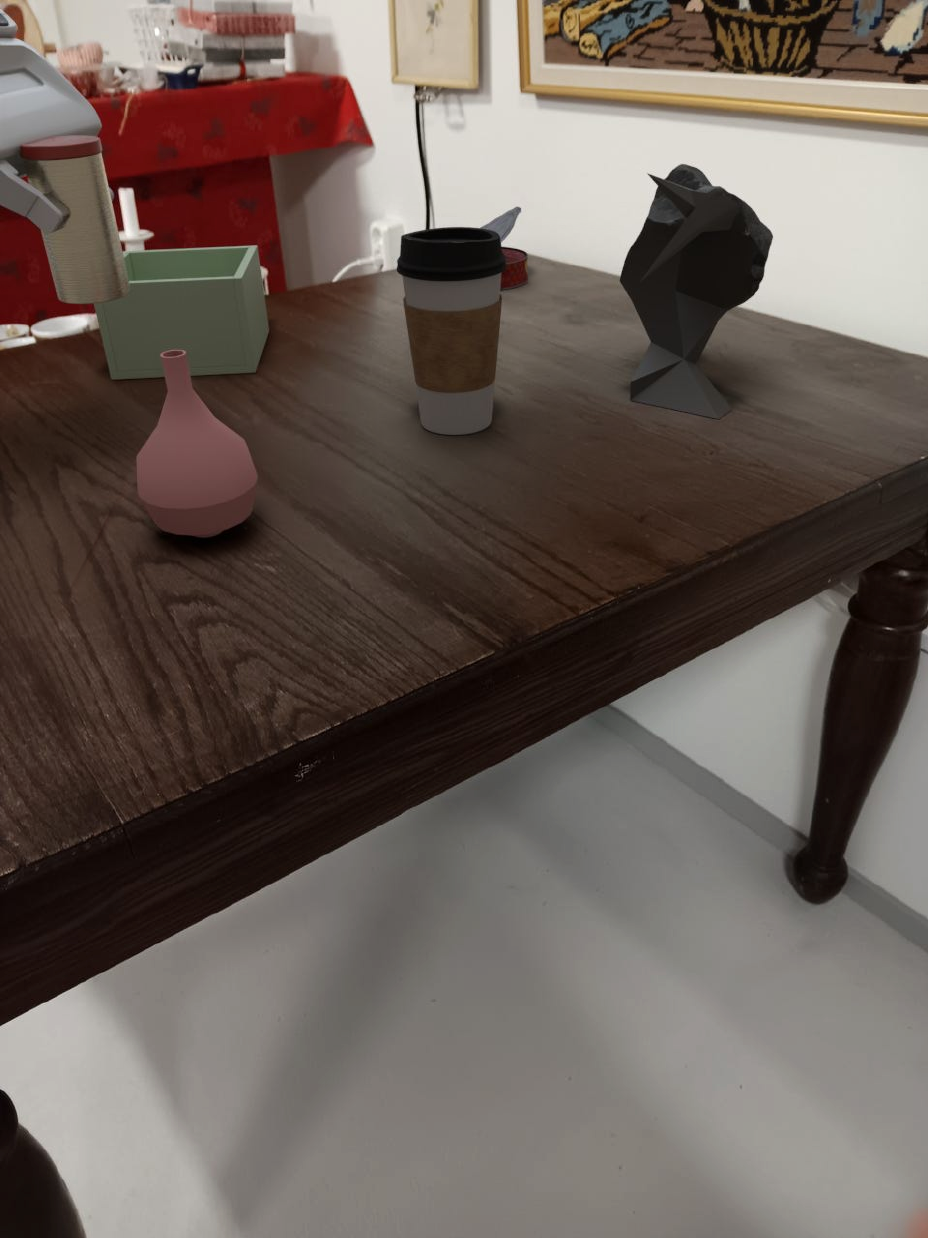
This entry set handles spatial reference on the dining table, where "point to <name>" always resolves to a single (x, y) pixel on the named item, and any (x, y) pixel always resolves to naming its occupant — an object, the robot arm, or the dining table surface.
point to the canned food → (510, 251)
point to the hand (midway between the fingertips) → (84, 214)
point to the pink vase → (193, 463)
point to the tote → (187, 312)
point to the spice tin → (79, 218)
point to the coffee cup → (453, 323)
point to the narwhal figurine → (690, 284)
